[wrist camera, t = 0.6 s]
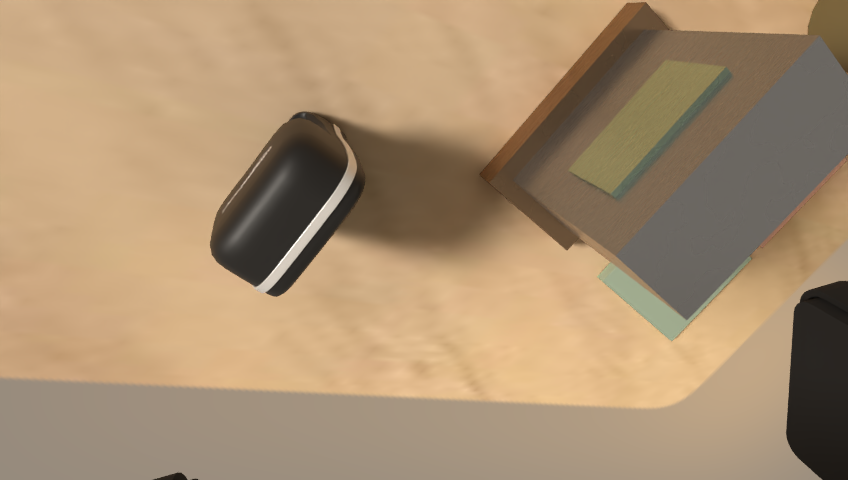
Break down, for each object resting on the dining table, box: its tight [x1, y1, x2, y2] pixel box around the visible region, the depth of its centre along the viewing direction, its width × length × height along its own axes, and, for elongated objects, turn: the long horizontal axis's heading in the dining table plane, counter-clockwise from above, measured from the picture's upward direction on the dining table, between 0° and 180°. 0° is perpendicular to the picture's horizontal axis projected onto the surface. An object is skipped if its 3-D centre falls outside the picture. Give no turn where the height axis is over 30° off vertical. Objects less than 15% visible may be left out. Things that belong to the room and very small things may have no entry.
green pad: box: [597, 256, 752, 341], centre depth 41 cm, size 8×8×1 cm
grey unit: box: [479, 2, 848, 320], centre depth 30 cm, size 13×7×14 cm, turn 139°
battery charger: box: [210, 112, 365, 297], centre depth 28 cm, size 7×4×11 cm, turn 140°
